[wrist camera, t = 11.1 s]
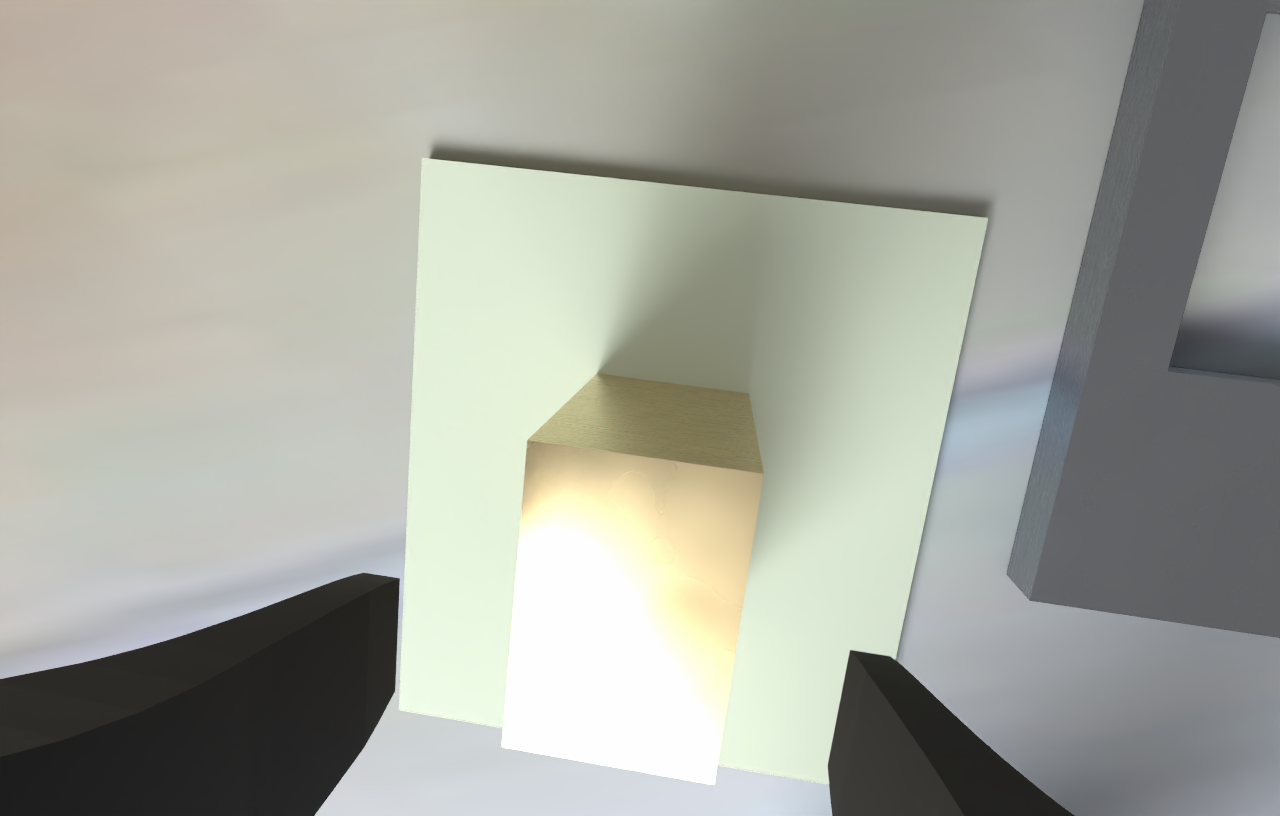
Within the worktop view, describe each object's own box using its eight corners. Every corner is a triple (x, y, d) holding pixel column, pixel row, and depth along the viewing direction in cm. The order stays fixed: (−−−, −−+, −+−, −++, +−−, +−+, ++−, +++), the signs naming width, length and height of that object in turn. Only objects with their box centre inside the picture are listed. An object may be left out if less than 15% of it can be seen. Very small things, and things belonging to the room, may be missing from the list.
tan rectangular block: (717, 604, 20) (714, 784, 13) (575, 582, 20) (501, 746, 14) (749, 393, 19) (764, 473, 12) (597, 373, 19) (527, 439, 12)
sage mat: (865, 781, 21) (867, 791, 21) (404, 702, 22) (398, 710, 22) (982, 218, 18) (988, 217, 17) (428, 159, 19) (422, 157, 18)
